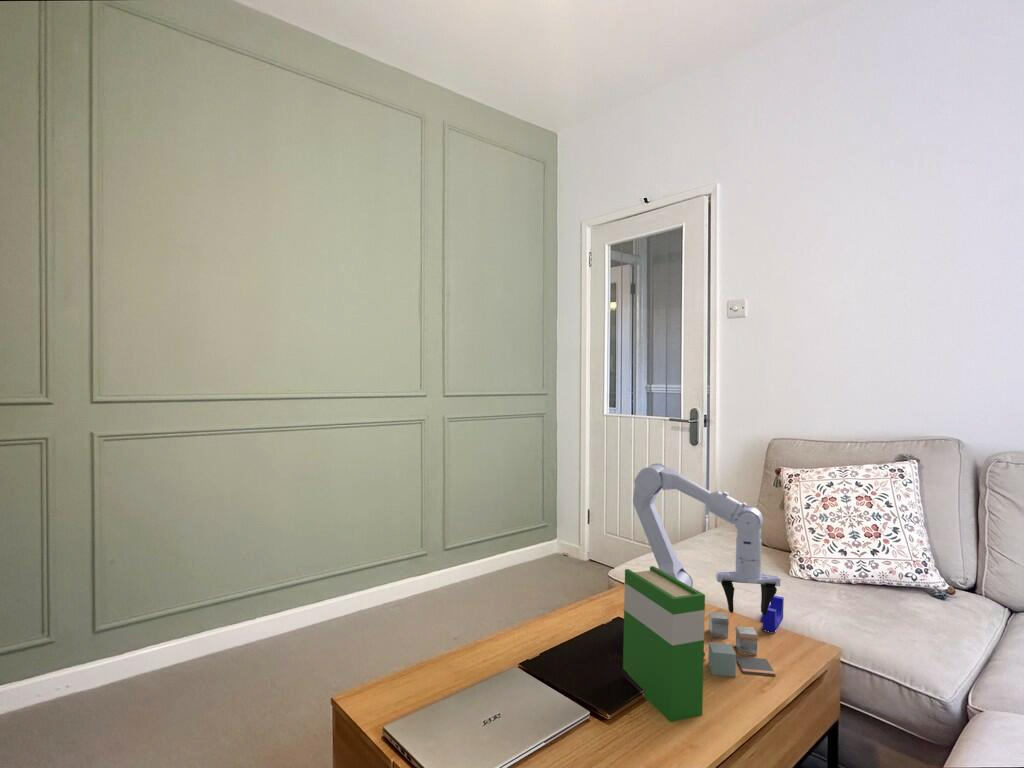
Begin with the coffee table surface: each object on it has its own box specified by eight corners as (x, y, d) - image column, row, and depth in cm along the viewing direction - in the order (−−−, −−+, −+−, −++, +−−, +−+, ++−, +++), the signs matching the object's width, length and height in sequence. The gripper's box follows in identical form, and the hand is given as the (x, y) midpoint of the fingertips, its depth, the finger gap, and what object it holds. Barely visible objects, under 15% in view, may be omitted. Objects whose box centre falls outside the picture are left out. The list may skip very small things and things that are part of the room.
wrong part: (711, 637, 147) (712, 617, 147) (708, 630, 151) (709, 611, 151) (728, 638, 146) (728, 619, 146) (724, 631, 150) (725, 612, 150)
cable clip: (765, 614, 162) (766, 593, 162) (783, 618, 159) (783, 597, 159) (756, 629, 152) (756, 607, 152) (774, 634, 149) (775, 611, 149)
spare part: (739, 653, 138) (739, 633, 138) (735, 645, 142) (736, 626, 142) (757, 655, 138) (757, 634, 137) (752, 647, 142) (753, 627, 141)
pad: (742, 672, 129) (742, 670, 129) (735, 657, 136) (735, 655, 136) (775, 675, 128) (775, 673, 128) (766, 660, 135) (766, 658, 135)
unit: (712, 674, 128) (712, 652, 128) (708, 662, 133) (708, 641, 133) (735, 676, 127) (736, 654, 127) (730, 664, 133) (730, 643, 133)
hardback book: (622, 676, 127) (624, 569, 126) (651, 671, 129) (653, 566, 129) (670, 722, 110) (673, 599, 110) (702, 715, 113) (705, 594, 112)
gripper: (720, 560, 137) (719, 616, 137) (785, 564, 134) (783, 621, 135) (715, 551, 144) (713, 605, 144) (775, 555, 141) (774, 609, 142)
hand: (747, 612), depth 140 cm, fingers open, 7 cm apart
